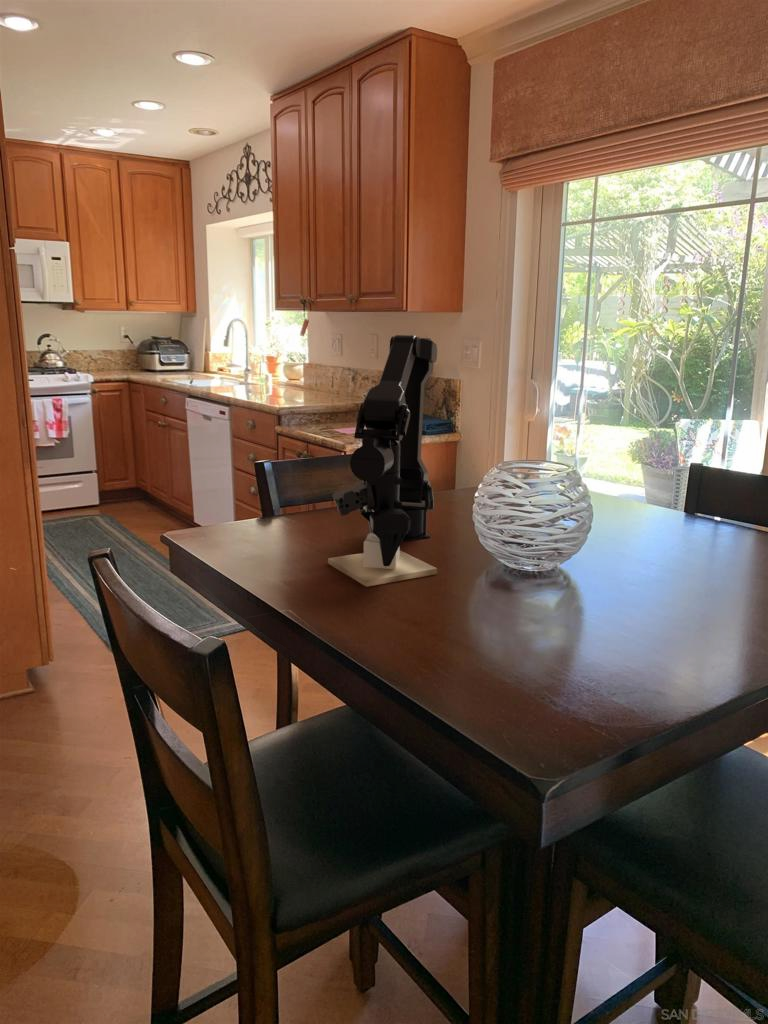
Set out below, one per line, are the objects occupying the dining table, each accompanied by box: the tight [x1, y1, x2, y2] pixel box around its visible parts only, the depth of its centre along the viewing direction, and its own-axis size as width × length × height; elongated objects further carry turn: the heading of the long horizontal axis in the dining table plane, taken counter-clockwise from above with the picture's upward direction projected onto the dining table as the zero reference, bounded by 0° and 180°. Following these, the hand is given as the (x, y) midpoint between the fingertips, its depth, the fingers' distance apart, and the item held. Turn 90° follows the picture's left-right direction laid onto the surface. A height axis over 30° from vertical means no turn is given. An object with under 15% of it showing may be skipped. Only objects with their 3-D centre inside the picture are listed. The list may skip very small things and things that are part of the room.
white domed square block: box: [363, 532, 401, 569], centre depth 132 cm, size 6×6×5 cm
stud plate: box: [327, 550, 438, 587], centre depth 132 cm, size 14×14×4 cm
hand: (381, 557), depth 132 cm, fingers open, 9 cm apart
